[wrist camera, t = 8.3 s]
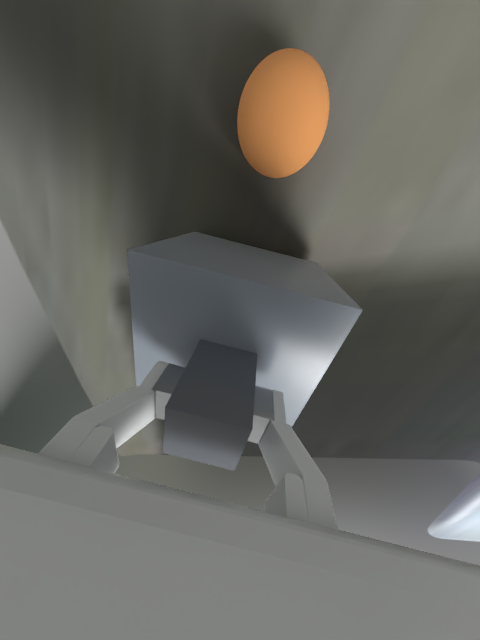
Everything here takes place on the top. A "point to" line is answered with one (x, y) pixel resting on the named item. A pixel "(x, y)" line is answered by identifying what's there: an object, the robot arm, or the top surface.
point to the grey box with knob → (231, 335)
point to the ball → (283, 113)
